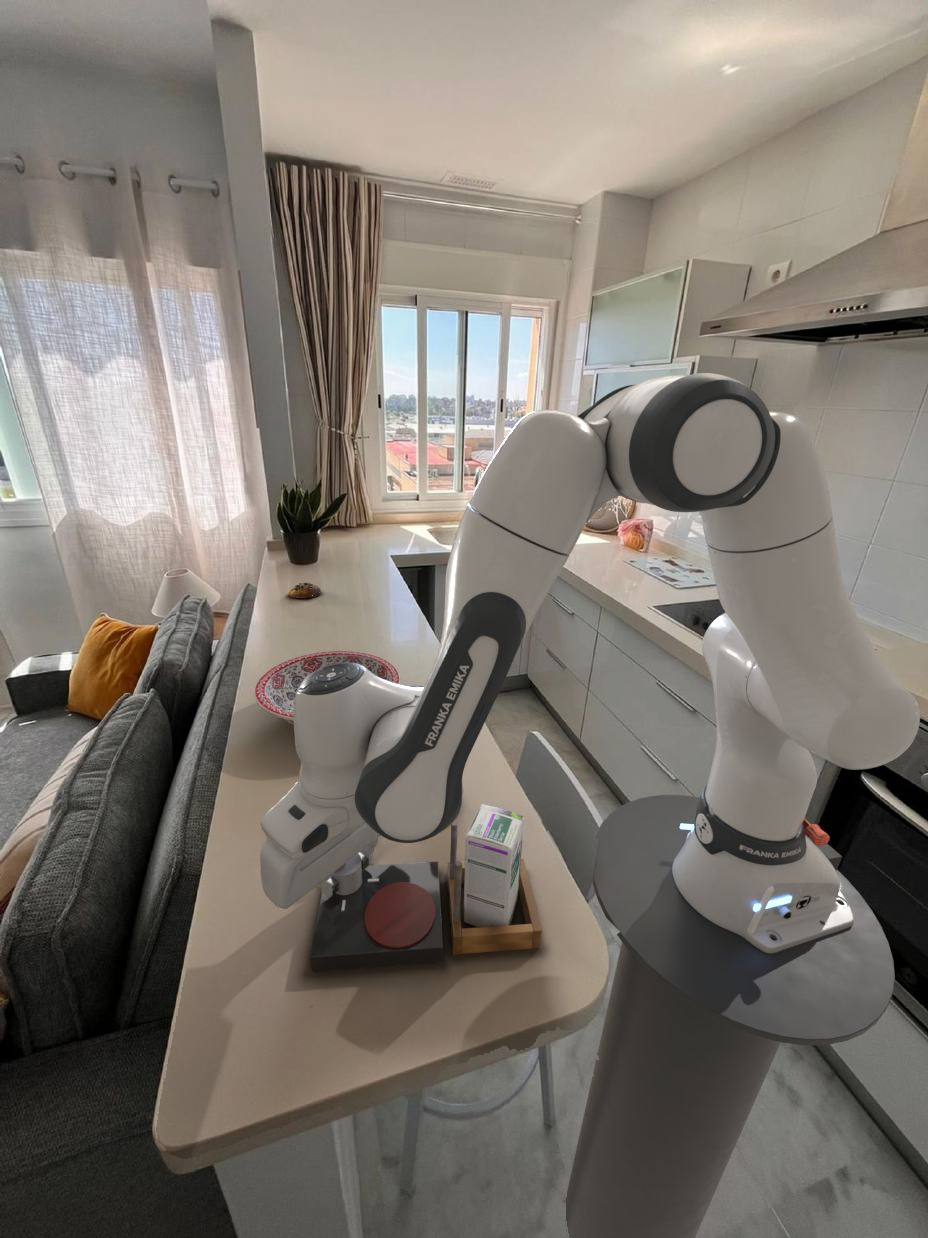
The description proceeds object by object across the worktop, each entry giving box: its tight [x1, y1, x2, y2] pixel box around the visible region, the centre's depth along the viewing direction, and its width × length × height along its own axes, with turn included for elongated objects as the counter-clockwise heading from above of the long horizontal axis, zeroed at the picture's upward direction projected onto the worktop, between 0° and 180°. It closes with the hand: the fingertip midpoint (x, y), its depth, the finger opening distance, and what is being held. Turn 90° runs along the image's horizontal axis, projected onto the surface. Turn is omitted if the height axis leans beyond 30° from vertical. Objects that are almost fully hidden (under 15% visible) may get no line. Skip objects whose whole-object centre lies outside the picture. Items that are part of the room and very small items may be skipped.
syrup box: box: [463, 803, 525, 928], centre depth 61 cm, size 6×6×14 cm
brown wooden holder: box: [446, 820, 543, 955], centre depth 62 cm, size 10×10×12 cm
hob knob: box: [331, 854, 362, 895], centre depth 64 cm, size 4×4×4 cm
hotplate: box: [364, 882, 435, 949], centre depth 60 cm, size 9×9×1 cm
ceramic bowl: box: [253, 650, 401, 727], centre depth 104 cm, size 29×29×8 cm
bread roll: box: [287, 582, 322, 599], centre depth 176 cm, size 11×11×5 cm
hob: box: [308, 861, 444, 973], centre depth 63 cm, size 16×14×3 cm
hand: (346, 878), depth 64 cm, fingers closed on hob knob, 4 cm apart
